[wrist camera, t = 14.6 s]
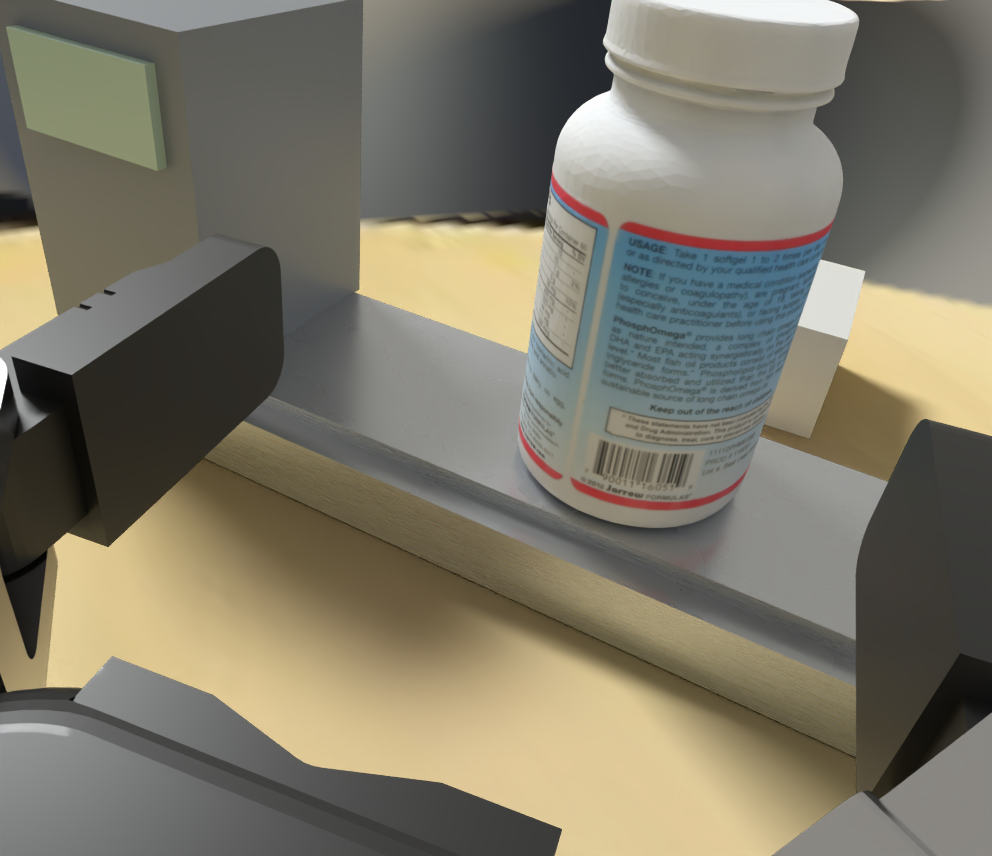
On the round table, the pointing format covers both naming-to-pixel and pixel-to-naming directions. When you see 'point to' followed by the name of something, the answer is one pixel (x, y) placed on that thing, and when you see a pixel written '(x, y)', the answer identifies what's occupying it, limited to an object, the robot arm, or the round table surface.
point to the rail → (567, 515)
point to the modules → (191, 136)
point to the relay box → (816, 349)
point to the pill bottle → (680, 253)
